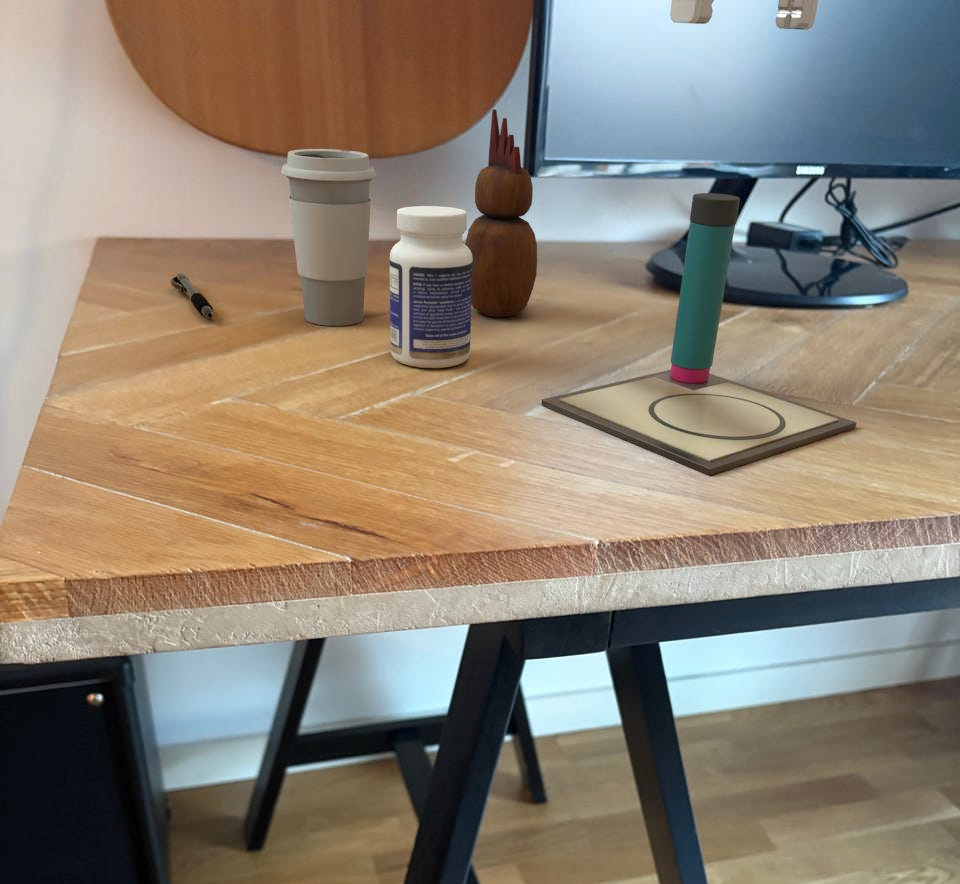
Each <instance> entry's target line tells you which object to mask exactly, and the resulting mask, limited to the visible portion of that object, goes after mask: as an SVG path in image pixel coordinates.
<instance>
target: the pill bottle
mask: <svg viewBox="0 0 960 884" xmlns="http://www.w3.org/2000/svg"><path fill="white" fill-rule="evenodd" d="M467 214H468V213H467V211H466V210H464V209H462V208H457V207H450V206H440V205H439V206H438V205H417V206H416V205H415V206H414V205H413V206H405V207H401V208H399V209H397V210H396V229H397V230H398V232H399V233H400V240H399V241H398V242H396V243H395V244H394V245H393V246H392V248H391V250H390V253H389V335H390V336H389V337H390V338H389V341H390V353H391V356H392V358H393V359H394V360H395V361H397V362H398V363H400V364H403V365H405V366H409V367H415V368H422V369H443V368H449V367H451V368H452V367H456V366H458V365H461V364H463V363H464V362H466V361H467V360H469V357H470V353H471V332H472V330H471V329H472V305H471V302H472V269H473V258H472V253H471V251H470V249H469V248H468V247H467V246H466V245H465V244H466V243H464V242H463V241H464V240H463V235H464V234H465V233H466V231H467V229H468V227H467V226H468V225H467V224H468V221H467V216H468V215H467Z"/></svg>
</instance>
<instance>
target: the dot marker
mask: <svg viewBox="0 0 960 884" xmlns="http://www.w3.org/2000/svg"><path fill="white" fill-rule="evenodd" d="M691 201H692V202H691V208H690V213H689V214H690V215H689V228H688V234H687V240H686V241H687V242H686V249H685V254H684V255H685V256H684V264H683V270H682V277H681V284H680V292H679V299H678V305H677V311H676V312H677V313H676V320H675V326H674V334H673V335H674V336H673V342H672V347H671V356H670V363H671V364H670V365H671V366H670V370H671V372H670V377H671V378H672V379H674V380H676V381H679V382H683V383H692V384H697V383H704V382H706V381H707V380H708V378H709V373H710V371H711V367H712V366H713V362H714V356H715V350H716V344H717V339H718V331H719V325H720V320H721V313H722V307H723V301H724V295H725V290H726V284H727V278H728V277H727V276H728V271H729V264H730V258H731V253H732V247H733V240H734V233H735V227H736V225H737V222H738V219H737V218H738V215H739V208H740V207H739V206H740V201H741V198H740V197H739V196H736V195H732V194H725V193H715V192H714V193H712V192H701V193H700V192H699V193H694V194H692V200H691Z"/></svg>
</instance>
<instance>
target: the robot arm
mask: <svg viewBox="0 0 960 884" xmlns="http://www.w3.org/2000/svg"><path fill="white" fill-rule="evenodd" d="M714 1H715V0H671V4H670V13H669V15H670V16H669V17H670V20H671V21H672V22H673V23H674V24H675V23H676V24H677V23H679V24H696V25H697V24H699V25H706V24H707V23H709V22H710V20H711V19H712V16H713V3H714ZM818 5H819V0H778V3H777V10H778V11H777V13H776V16H775V24H776V27H777V28H779V29H785V30H803V31H805V30H806V31H808V30H810V29H811V28H812V27H813V26H814V25H815V21H816V15H817V9H818Z"/></svg>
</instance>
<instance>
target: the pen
mask: <svg viewBox="0 0 960 884" xmlns="http://www.w3.org/2000/svg"><path fill="white" fill-rule="evenodd" d="M170 286H172V287H173V288H174V289H176V290H180V293H185V294H186V296H188V298H189V300H190V301H191V304H192V305H193V307H194V308H195V309H196V311H197V312H198V313H199V315H200V316H201V317H203V318H206V319H211V318H212V317H213V316H214V308H213V306H212V305H211V304H210V302H209V301H208V300H207V297H205V296H204V295H203V294H202V293H200V292H199V290H197V288H196V287H195V286H194V285H193V283H192V282H191V281H190V279H189V277H188V276H187V275H186V274H185V273H177V274H176V275H175V276H174V277H172V278H171V279H170Z"/></svg>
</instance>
